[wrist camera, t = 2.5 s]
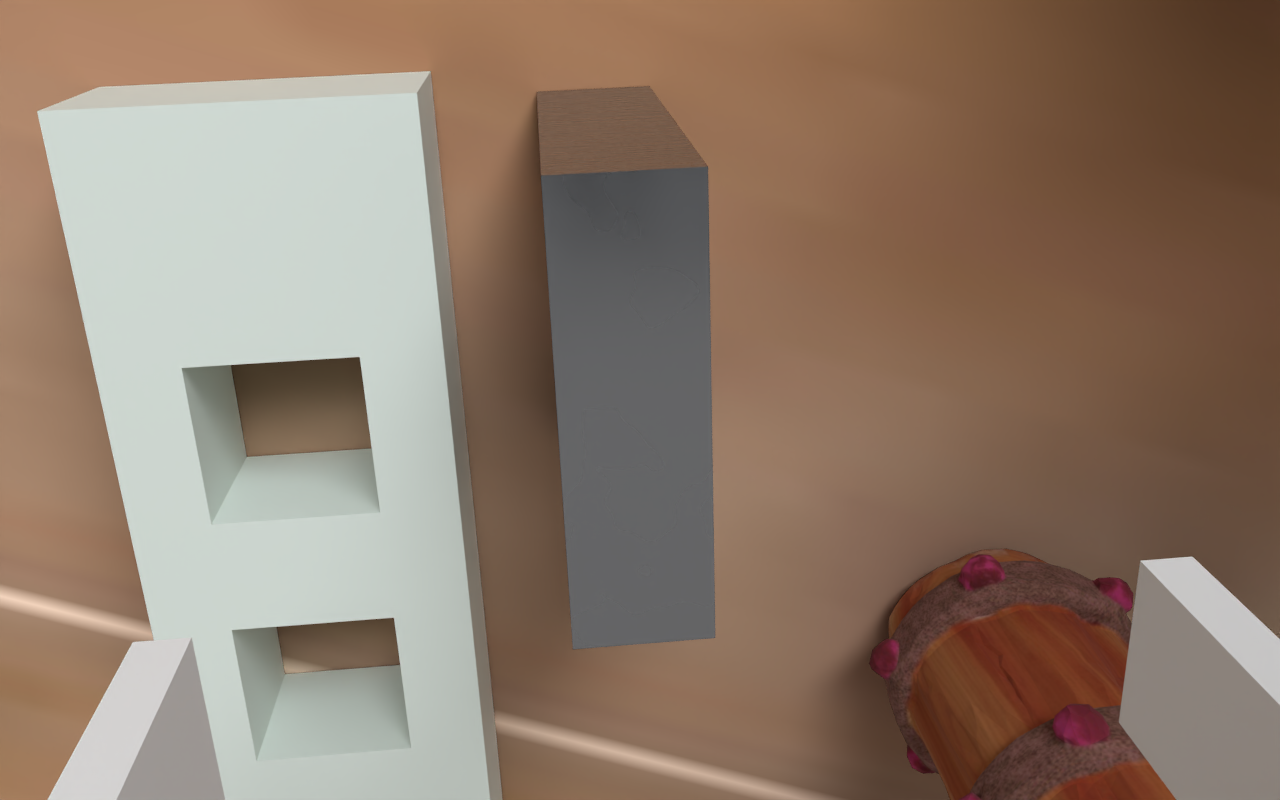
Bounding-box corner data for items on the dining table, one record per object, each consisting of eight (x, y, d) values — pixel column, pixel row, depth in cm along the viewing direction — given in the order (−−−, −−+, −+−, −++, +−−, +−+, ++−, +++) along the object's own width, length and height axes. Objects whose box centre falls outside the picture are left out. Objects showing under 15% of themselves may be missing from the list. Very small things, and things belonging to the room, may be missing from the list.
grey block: (536, 91, 34) (540, 175, 23) (649, 86, 34) (707, 166, 23) (559, 435, 38) (572, 649, 27) (660, 428, 38) (715, 637, 27)
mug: (820, 704, 43) (961, 1084, 29) (879, 500, 40) (1067, 811, 26) (1196, 745, 45) (1496, 1117, 31) (1277, 554, 42) (1648, 868, 28)
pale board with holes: (99, 86, 33) (36, 111, 29) (430, 71, 33) (416, 92, 29) (249, 838, 43) (219, 937, 38) (504, 815, 43) (501, 911, 39)
